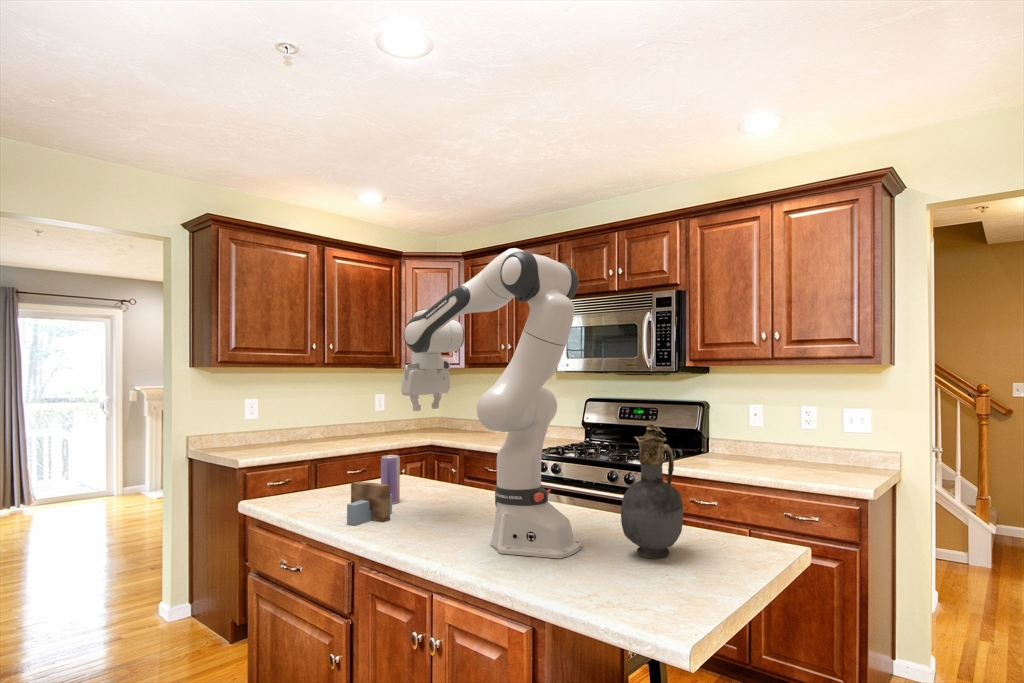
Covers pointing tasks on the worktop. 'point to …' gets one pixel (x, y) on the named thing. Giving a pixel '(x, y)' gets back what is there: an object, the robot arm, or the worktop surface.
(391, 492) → the beverage can
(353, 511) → the notched grey block
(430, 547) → the worktop surface
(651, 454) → the pitcher
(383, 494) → the wooden bridge block
